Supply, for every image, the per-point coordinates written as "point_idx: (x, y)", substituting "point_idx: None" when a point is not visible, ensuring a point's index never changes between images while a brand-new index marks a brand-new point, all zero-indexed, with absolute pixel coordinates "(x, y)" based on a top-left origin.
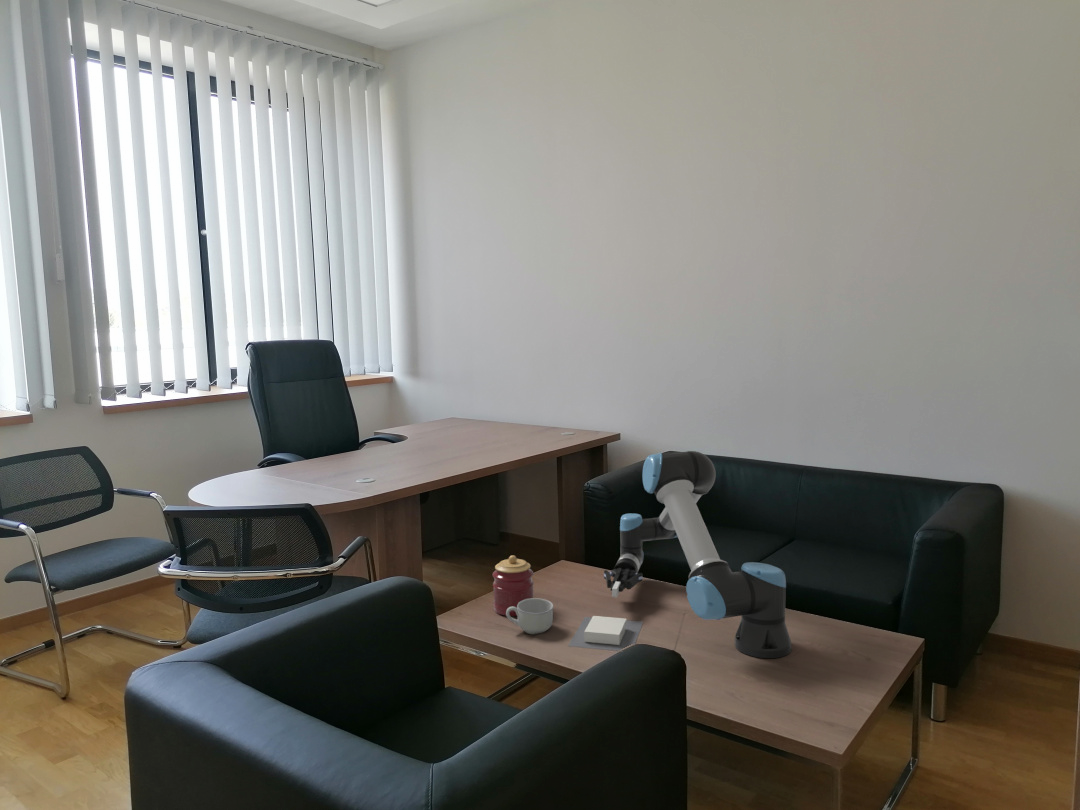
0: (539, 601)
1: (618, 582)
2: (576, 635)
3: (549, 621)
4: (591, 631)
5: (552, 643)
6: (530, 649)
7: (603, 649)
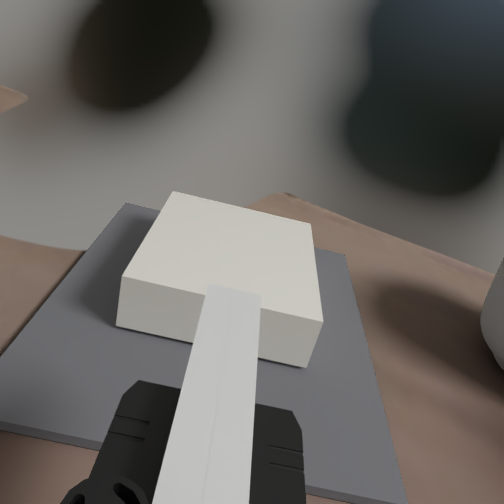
0: None
1: (190, 465)
2: (348, 303)
3: (488, 294)
4: (283, 220)
5: (406, 285)
6: (445, 267)
7: None
